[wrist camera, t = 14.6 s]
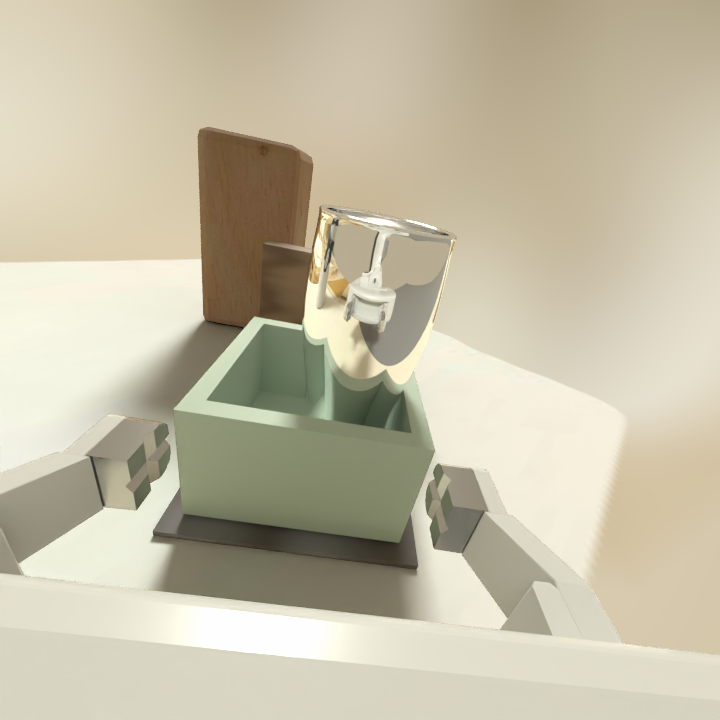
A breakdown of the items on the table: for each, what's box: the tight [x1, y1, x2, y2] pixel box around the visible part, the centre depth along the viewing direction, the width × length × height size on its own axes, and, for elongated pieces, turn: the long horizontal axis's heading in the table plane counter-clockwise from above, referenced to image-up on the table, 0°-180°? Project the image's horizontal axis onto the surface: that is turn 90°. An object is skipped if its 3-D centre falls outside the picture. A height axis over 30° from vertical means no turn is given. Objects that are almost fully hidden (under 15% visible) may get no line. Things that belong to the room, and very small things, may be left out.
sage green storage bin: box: [173, 317, 435, 543], centre depth 22 cm, size 12×12×7 cm
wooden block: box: [198, 127, 313, 327], centre depth 40 cm, size 10×10×20 cm
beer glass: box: [302, 205, 456, 429], centre depth 19 cm, size 7×7×15 cm
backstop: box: [153, 240, 418, 569], centre depth 24 cm, size 14×20×12 cm
